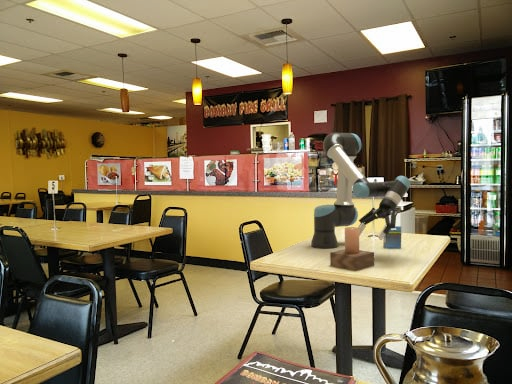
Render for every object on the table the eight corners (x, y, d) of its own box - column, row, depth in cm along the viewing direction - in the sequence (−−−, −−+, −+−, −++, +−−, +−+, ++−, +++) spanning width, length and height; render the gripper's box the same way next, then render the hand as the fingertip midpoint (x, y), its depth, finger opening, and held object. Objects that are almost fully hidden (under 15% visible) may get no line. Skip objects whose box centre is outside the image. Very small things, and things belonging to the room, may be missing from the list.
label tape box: (398, 247, 232) (398, 225, 232) (401, 248, 228) (401, 226, 228) (383, 247, 232) (383, 225, 232) (385, 248, 228) (385, 226, 227)
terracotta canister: (342, 252, 188) (341, 228, 188) (350, 250, 193) (349, 226, 192) (354, 254, 184) (354, 229, 183) (362, 252, 188) (361, 228, 188)
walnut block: (330, 265, 189) (330, 252, 188) (348, 260, 198) (348, 248, 198) (356, 270, 179) (356, 257, 178) (374, 265, 188) (374, 252, 188)
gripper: (415, 209, 192) (393, 245, 184) (373, 206, 213) (352, 238, 206) (408, 198, 189) (385, 234, 181) (366, 196, 210) (344, 228, 202)
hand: (368, 236), depth 193 cm, fingers open, 13 cm apart
